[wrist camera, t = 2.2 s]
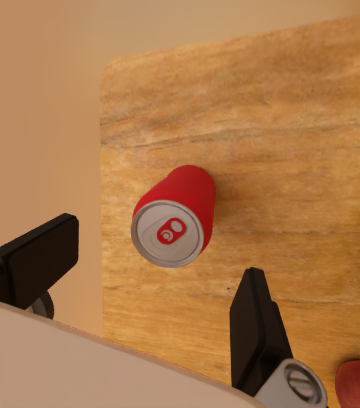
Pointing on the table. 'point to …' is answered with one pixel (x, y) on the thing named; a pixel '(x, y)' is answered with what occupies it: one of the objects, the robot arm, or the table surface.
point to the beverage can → (175, 218)
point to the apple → (348, 384)
